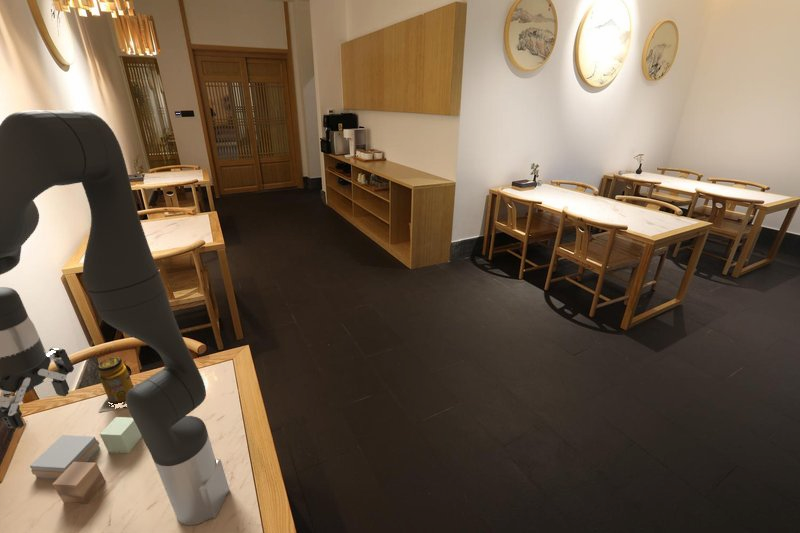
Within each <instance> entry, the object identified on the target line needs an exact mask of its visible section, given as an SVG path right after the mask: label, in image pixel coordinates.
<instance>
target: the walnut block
mask: <svg viewBox="0 0 800 533" xmlns="http://www.w3.org/2000/svg"><path fill="white" fill-rule="evenodd" d="M105 483H106V479H105V477H104V475H103V473H102V471H101V470H100V467H99V465H98V463H97V462H92V461H91V462H90V461H89V462H88V461H87V462H73V463H72V464H71V465H70V466H69V467H68V468H67V469H66V470H65V471H64V472H63V473H62V475H61V476H60V477H59V478H56V480H55V481H54V482H53V483H52V486H53V488H54V490H55V491H56V493H57V495H58V496H59V498H60V499H61V501H62V502H63V504H76V505H77V504H79V505H88V504H89V502H90V501H91V499H93V497H94V496H95V494H97V492H98V491H99V490H100V489H101V487H102V486H103V485H104V484H105Z"/></svg>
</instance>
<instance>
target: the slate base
mask: <svg viewBox="0 0 800 533" xmlns="http://www.w3.org/2000/svg"><path fill="white" fill-rule="evenodd" d="M100 449H101V448H100V442H99V440H97V439H96V437H95V436H89V435H87V436H85V435H67V434H62V435H61V436H60V437H58V438H57V439H56V440H55V441H54V442H53V443H52V444H51V445H49V447H48V448H47V449H45V451H44V452H43V453H41V454H40V455H39V456H38V457H37V458H36V459H35V460H34V461H33V462H32V463H31V464H30V465H29V467H30V469H31V471H30V472H31V473H32V475H35V477H36V478H41V479H42V478H44V479H46V478H47V479H58V478H59V477H60V476H61V475H62V473H63V472H64V471H65V470H66V469H67V468H68V467H69V466H70V465H71V464H72V463H73V462H88V461H89V460H90V459H91V458H92V457H93V456H94V455H95V454H96V453H97V451H98V450H100Z"/></svg>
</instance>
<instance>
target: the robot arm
mask: <svg viewBox="0 0 800 533" xmlns="http://www.w3.org/2000/svg"><path fill="white" fill-rule="evenodd" d="M79 183H81V184H82V187H83V190H84V193H85V195H86V198H87V202H88V205H89V210H90V229H89V235H88V240H87V242H86V243H87V244H86V248H85V253H84V257H83V265H82V276H83V277H82V278H83V282H84V285H85V288H86V289H87V292H88V294H89V297H90V299H91V300H92V302H93V303H92V304H93V305H94V308H95V309H96V312H97V313H98V315H99V317H100V318H101V320H103V321H104V322H105V323H106V324H107V325H109V326H111V327H112V328H114V329H116V330H118V331H119V332H121V333H124V334H125V335H128V336H129V337H132V338H134V339H135V340H138V341H140V342H142V343H144V344H146V345H147V346H149V347H150V348H152V349H153V350H155V352H157V354H158V355H159V356H160V358H161V360H162V361H163V365H164V368H162V369H161V370H159V371H158V372H156V373H154V374H153V375H151V376H149V377H148V378H146V379H144V380H143V381H141V382H140V383H137V384H136V385H133V386H134V387H133V388H131V389H130V390H129V391H128V392H127V395H126V404H127V410H128V411H129V414H130V416H131V418H133V420H134V422H135V424H136V425H137V427H138V429H139V431H140V433H141V435H142V437H141V439H143V442H144V444H145V447H147V450H148V452H149V454H150V456H151V458H152V460H153V463H154V465H155V468H156V471H157V472H158V475H159V478H160V480H161V482H162V485H163V487H164V490H165V492H166V495H167V497H168V499H169V502H170V505H171V507H172V509H173V512H174V515H175V517H176V518H177V521H178V522H179V523H181V524H182V525H185V526H195V525H198V524H202V523H204V522H206V521H207V520H210V519H216V518H217V516H218V513H219V512H220V509H221V508H222V505H223V503H224V502H225V500H226V497H227V495H228V493H229V491H230V486H229V484H228V480H227V476H226V473H225V470H224V466H223V463H222V460H221V459H217V458H216V455H215V453H214V449H213V446H212V443H211V440H210V436H209V433H208V429H207V426H206V423H205V422H204V421H203V420H202V419H201V418H199V417H198V416H194V415H189V414H191V413H192V412H193V411H194V410H195V409H196V408H198V407H199V406H200V405H201V404H202V403H203V402H204V401H205V399H206V396H207V390H206V385H205V382H204V380H203V376H202V375H201V372H200V371H199V367H198V366H197V364H196V362H195V360H194V358H193V356H192V354H191V352H190V350H189V348H188V346H187V343H186V341H185V339H184V337H183V335H182V333H181V331H180V328H179V325H178V322H177V320H176V318H175V314H174V311H173V309H172V305H171V303H170V300H169V296H168V293H167V290H166V286H165V284H164V281H163V279H162V276H161V274H160V271H159V269H158V266H157V264H156V262H155V258H154V256H153V253H152V252H151V249H150V246H149V243H148V240H147V236H146V234H145V230H144V227H143V225H142V221H141V219H140V215H139V212H138V208H137V206H136V204H137V203H136V201H135V197H134V192H133V189H132V186H131V181H130V177H129V172H128V168H127V165H126V160H125V157H124V153H123V151H122V147H121V144H120V142H119V140H118V138H117V136H116V134H115V133H114V131H113V129H112V128H111V127H110V125H109V124H108V123H107V122H106V121H105V120H104V119H102V117H100V116H98V115H97V114H95V113H93V112H90V111H85V110H42V109H40V110H37V109H36V110H35V109H34V110H33V109H32V110H31V109H30V110H22V111H16V112H13V113H11V114H9V115H8V116H6V117H5V118H4V119H3V120H2V122H1V123H0V276H1V275H4V274H7V273H8V272H10V271H11V270H14V268H16V267H17V266H18V265H19V263H20V260H21V254H22V247H23V245H24V244H25V243H26V242H27V241H28V240H29V238H30V237H31V236H32V235H33V233H34V232H35V231H36V229H37V227H38V224H39V221H40V212H39V209H38V207H37V205H36V203H35V201H34V200H35V199H36V198H37V197H39V196H40V195H41V194H42V193H44V192H46V191H47V190H49V189H51V188H53V187H54V186H69V185H75V184H79ZM51 361H53V363H54V365H55V367H56V368H57V370H56V371H53V370H49V368H50V364H51ZM74 370H75V368H74V365H73V363H72V362H71V359H70V357H69V356H68V352H67V351H66V349H63V348H58V347H50V348H49V350H48V352H46V349H45V347H44V345H43V343H42V340H41V337H40V335H39V333H38V330H37V328H36V327H35V324H34V322H33V321H32V320H31V317H30V316H29V315H28V312H27V310H26V307H25V305H24V303H23V301H22V298H21V297H20V294H19V293H18V291H16V290H15V289H13V288H12V287H7V286H0V391H1V393H0V421H1V420H3V422H4V424H5V426H6V427H7V428H8V429H9V428H11V429H19V430H20V429H22V428H23V427H24V426H25V424H24V422H23V420H22V417H21V416H20V413H19V412H18V411H17V410H18V407H19V403H21V402H22V401H23V399H24V396H25V394H27V393H29V392H30V391H32V390H33V389H34V388H36V387H37V386H39V385H41V384H42V383H44V381H45V378H47V379H51V381H50V382H51V385H52V387H53V390H54V391H55V393H56V395H57V396H59V397H66V396H68V395H69V391H70V386H69V385H68V382H67V376H68V374H69V373H72V372H74ZM12 393H14V396H13V395H11V394H12Z"/></svg>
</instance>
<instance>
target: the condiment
mask: <svg viewBox="0 0 800 533" xmlns="http://www.w3.org/2000/svg"><path fill="white" fill-rule="evenodd" d="M96 368H97V370H98V378H99V381H100V384H101V385H102V387H103V390H104V391H105V394H106V396H107V397H106V399H105V401H104V402H103V404H102V405H101V407H100V408H99V409H98V413H99V412H100V413H101V412H107V411H108V412H109V411H115V410H116V409H117V410H120V409H122V408H120V407H119V409H118V408H116V409H115V405H114V404H118V403H122V402H125V401H126V395H127V392H128V391H129V390H130V389H131V388H133V387H134V386H135V385H134V384H133V381H132V379H131V376H130V373H129V371H128V369H127V367H126V365H125V364H124V363H123V360H122V358H121V357H118V356H114V357H113V356H112V357H107V358H105V359H103V360H101V362H99V363H98V365H97V367H96ZM108 402H110V403H113V404H112V405H114V407H111V406H112V405H111V404H109V403H108ZM109 405H110V406H109ZM125 407H126V406H125Z"/></svg>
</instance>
